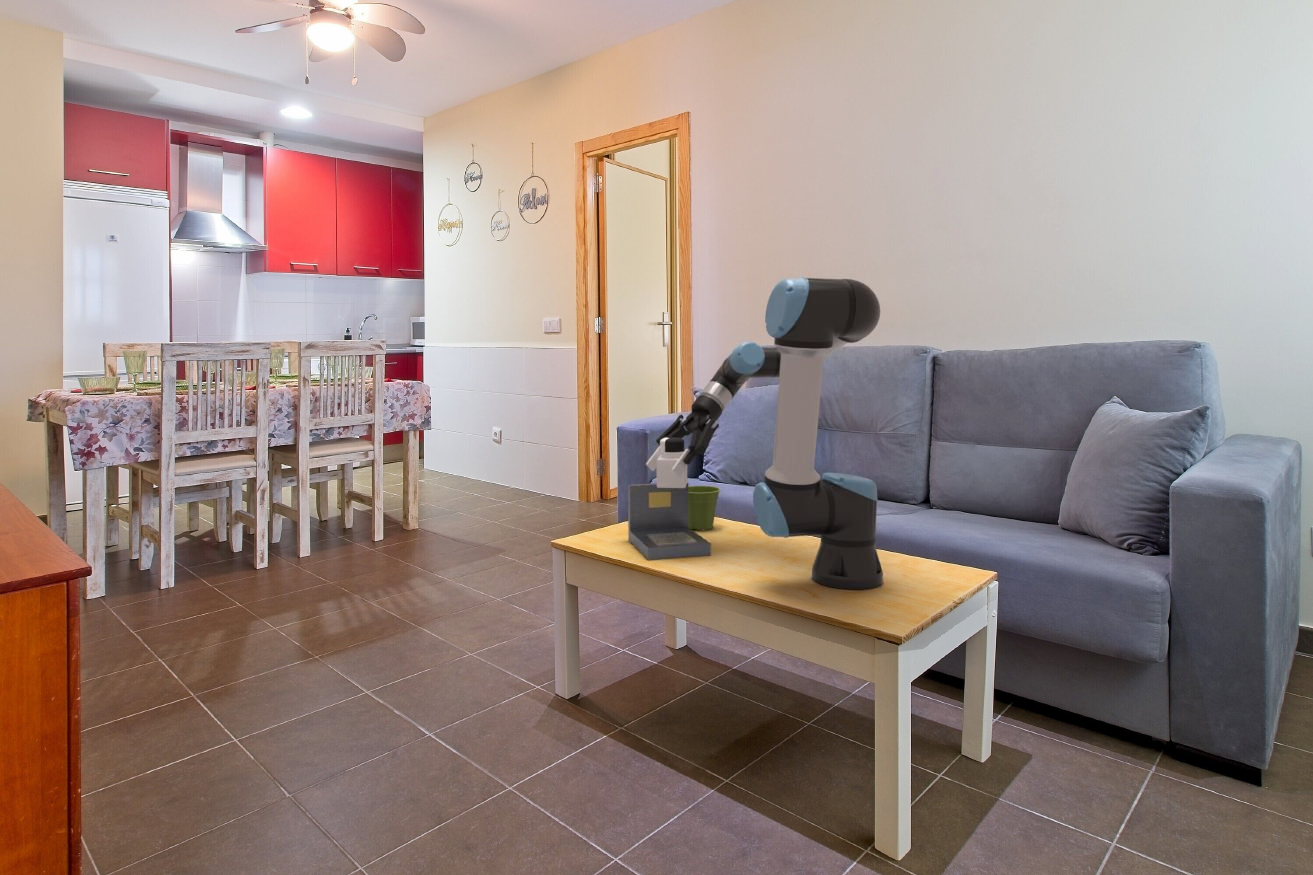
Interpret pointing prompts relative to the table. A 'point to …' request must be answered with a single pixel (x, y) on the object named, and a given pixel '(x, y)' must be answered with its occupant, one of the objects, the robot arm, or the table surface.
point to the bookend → (662, 523)
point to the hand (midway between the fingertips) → (662, 470)
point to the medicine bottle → (670, 463)
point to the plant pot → (702, 506)
